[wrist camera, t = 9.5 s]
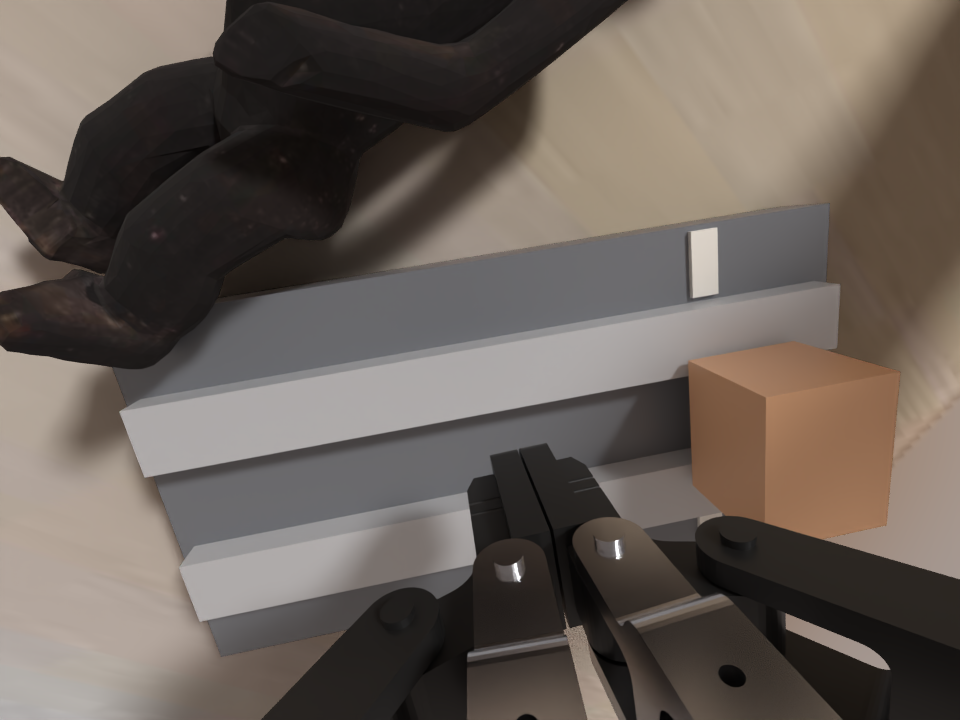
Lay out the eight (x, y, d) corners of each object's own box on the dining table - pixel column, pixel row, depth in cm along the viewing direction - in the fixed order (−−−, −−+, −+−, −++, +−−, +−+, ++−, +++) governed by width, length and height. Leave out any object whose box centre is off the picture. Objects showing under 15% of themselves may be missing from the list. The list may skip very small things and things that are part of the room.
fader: (770, 334, 18) (900, 371, 13) (769, 451, 20) (886, 525, 15) (671, 352, 18) (766, 397, 13) (676, 470, 19) (764, 552, 14)
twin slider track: (781, 206, 20) (858, 200, 16) (775, 499, 24) (837, 545, 20) (138, 311, 18) (69, 329, 15) (243, 610, 22) (208, 683, 18)
